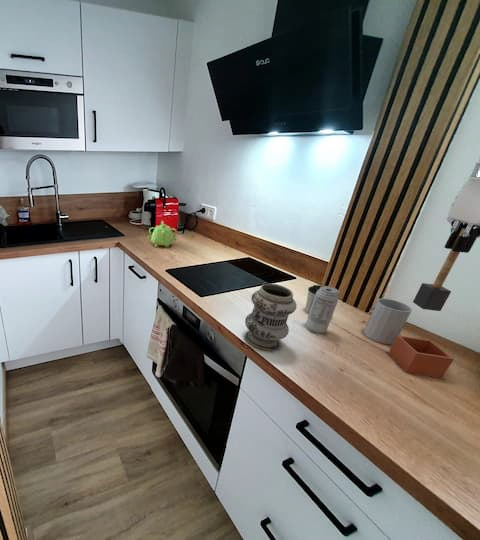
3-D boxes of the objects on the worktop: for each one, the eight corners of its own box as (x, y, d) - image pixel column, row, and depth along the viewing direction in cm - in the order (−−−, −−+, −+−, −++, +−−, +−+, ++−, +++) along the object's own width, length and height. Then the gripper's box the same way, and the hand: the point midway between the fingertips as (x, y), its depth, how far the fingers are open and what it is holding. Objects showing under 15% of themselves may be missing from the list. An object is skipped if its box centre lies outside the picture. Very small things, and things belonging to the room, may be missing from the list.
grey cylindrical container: (385, 331, 95) (401, 300, 91) (401, 346, 88) (418, 313, 83) (358, 327, 97) (372, 296, 92) (371, 342, 90) (386, 309, 85)
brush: (429, 304, 80) (470, 227, 71) (440, 311, 76) (484, 231, 67) (412, 302, 80) (450, 226, 72) (422, 309, 77) (464, 230, 68)
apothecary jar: (264, 357, 82) (280, 303, 74) (233, 334, 91) (244, 284, 84) (292, 347, 86) (310, 294, 79) (259, 325, 96) (272, 277, 89)
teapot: (143, 242, 177) (144, 222, 172) (160, 239, 185) (162, 220, 179) (160, 250, 165) (162, 228, 160) (178, 246, 172) (180, 225, 167)
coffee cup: (315, 318, 102) (324, 294, 98) (297, 309, 107) (304, 285, 103) (327, 314, 104) (336, 290, 100) (309, 305, 110) (316, 282, 106)
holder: (420, 358, 83) (430, 340, 81) (442, 378, 76) (454, 359, 74) (387, 353, 85) (397, 335, 83) (406, 372, 78) (416, 353, 75)
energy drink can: (329, 330, 95) (344, 290, 89) (320, 336, 92) (335, 295, 86) (310, 321, 100) (323, 283, 94) (301, 326, 97) (314, 287, 91)
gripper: (557, 177, 57) (505, 263, 64) (484, 171, 71) (448, 242, 78) (510, 175, 58) (464, 259, 65) (448, 170, 72) (416, 239, 79)
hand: (456, 249), depth 72 cm, fingers closed on brush
